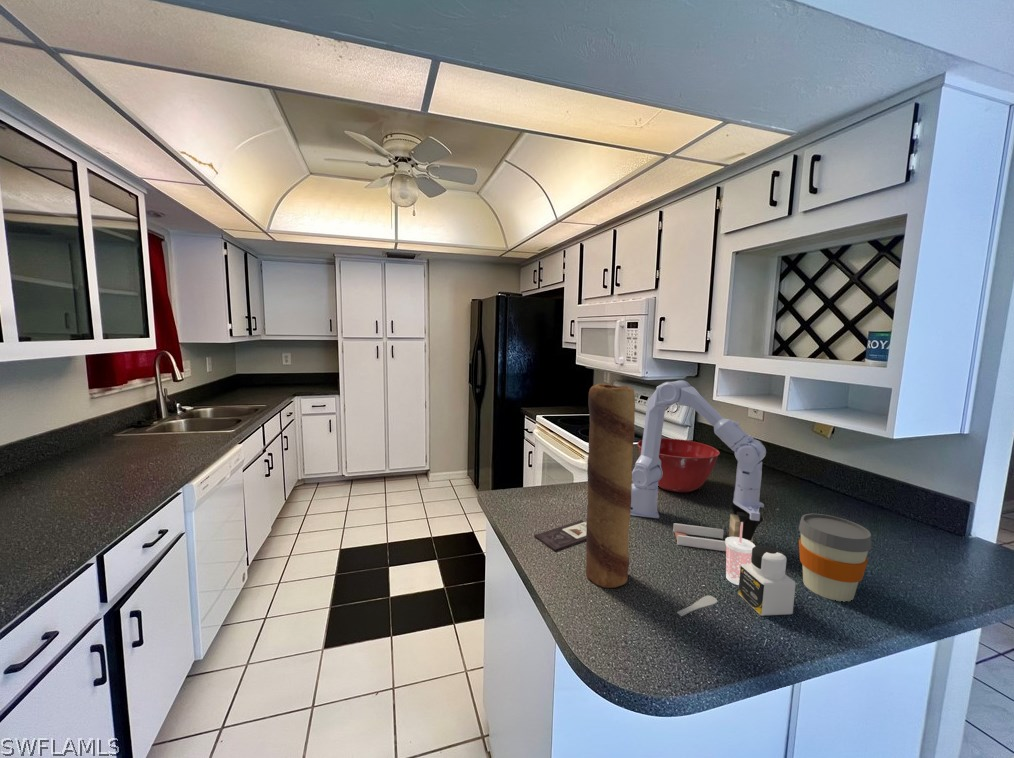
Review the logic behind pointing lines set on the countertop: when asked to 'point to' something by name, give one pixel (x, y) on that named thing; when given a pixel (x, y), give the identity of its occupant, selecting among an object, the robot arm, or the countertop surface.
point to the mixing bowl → (684, 464)
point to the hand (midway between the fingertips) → (743, 534)
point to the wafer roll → (609, 483)
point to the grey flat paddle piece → (699, 605)
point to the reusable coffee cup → (833, 555)
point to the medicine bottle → (767, 582)
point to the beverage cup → (737, 555)
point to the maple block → (735, 526)
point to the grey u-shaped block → (685, 540)
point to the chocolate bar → (564, 536)
